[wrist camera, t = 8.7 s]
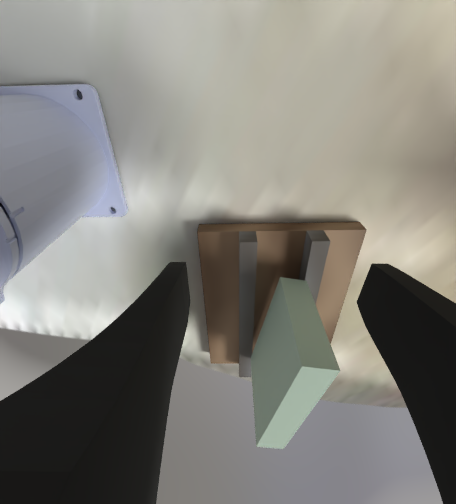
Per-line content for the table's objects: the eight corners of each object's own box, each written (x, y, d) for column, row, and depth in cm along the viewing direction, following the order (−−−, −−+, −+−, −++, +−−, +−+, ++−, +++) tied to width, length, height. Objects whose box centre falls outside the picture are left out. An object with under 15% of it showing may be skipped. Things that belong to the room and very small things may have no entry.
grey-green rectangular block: (250, 358, 24) (256, 446, 18) (280, 276, 18) (302, 366, 13) (271, 360, 24) (283, 448, 18) (306, 280, 19) (340, 370, 13)
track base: (211, 353, 28) (209, 376, 26) (199, 224, 19) (194, 242, 17) (321, 353, 28) (328, 377, 25) (359, 222, 19) (376, 240, 17)
